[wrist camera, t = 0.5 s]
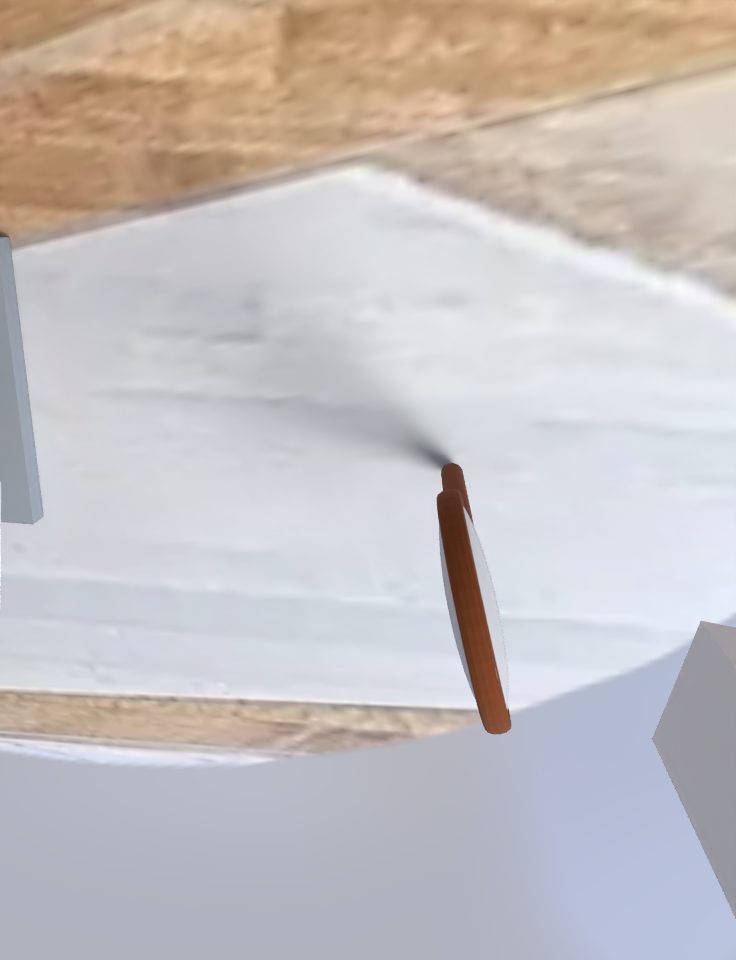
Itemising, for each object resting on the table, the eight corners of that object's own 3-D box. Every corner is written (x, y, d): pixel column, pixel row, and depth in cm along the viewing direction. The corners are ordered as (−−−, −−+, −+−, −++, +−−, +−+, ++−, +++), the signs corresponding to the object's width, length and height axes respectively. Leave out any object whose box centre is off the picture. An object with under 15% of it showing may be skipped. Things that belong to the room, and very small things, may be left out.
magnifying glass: (480, 532, 41) (537, 788, 22) (451, 538, 41) (483, 796, 22) (450, 391, 38) (487, 547, 19) (419, 398, 39) (426, 558, 20)
